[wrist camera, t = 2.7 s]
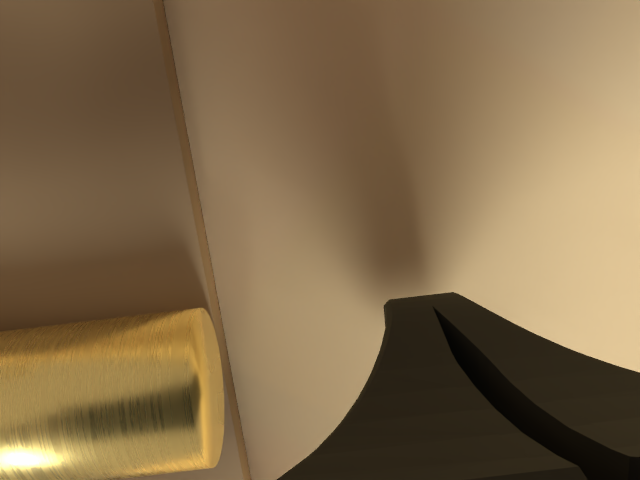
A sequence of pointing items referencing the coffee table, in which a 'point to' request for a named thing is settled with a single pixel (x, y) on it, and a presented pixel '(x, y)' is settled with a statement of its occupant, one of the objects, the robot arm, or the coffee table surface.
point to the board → (101, 180)
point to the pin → (111, 398)
